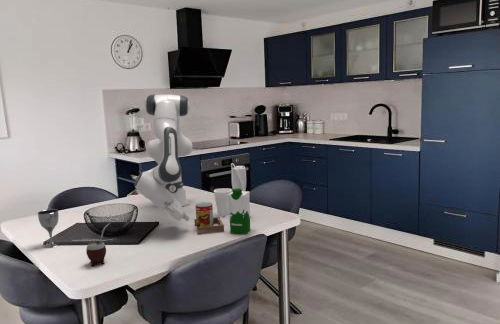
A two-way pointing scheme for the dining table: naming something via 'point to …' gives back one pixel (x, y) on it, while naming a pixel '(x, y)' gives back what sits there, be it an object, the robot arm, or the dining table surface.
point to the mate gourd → (97, 251)
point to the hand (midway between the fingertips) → (188, 219)
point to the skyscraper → (238, 177)
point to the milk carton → (239, 211)
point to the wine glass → (49, 223)
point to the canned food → (204, 214)
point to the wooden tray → (211, 227)
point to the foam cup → (222, 201)
